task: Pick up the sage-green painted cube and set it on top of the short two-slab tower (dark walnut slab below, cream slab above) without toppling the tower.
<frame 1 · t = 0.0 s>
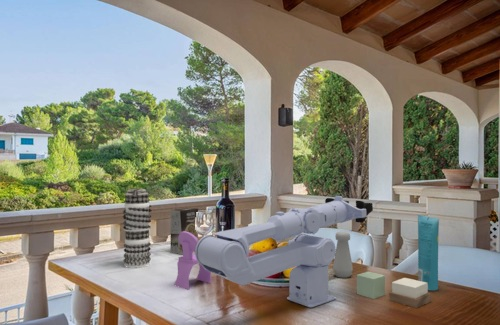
hand: (359, 205, 113), 22 cm above the table, tool horizontal, fingers open, 7 cm apart
decorative candle: (137, 265, 135), on the table
tube: (428, 288, 110), on the table
toy chair: (193, 284, 114), on the table
walnut slab: (409, 303, 100), on the table, touching cream slab
salt shaker: (342, 276, 121), on the table
coffee box: (184, 252, 155), on the table
cream slab: (409, 292, 100), point 2 cm above the table, touching walnut slab
sage cube: (370, 294, 105), on the table
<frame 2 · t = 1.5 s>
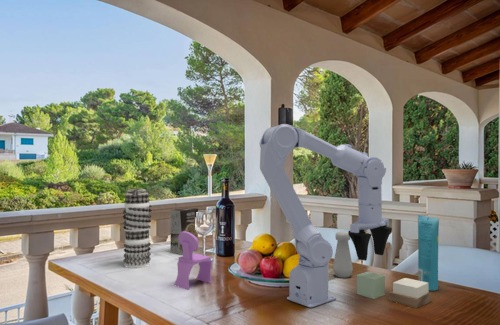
hand: (370, 257, 105), 9 cm above the table, tool pointing down, fingers open, 7 cm apart
nothing on the table moved.
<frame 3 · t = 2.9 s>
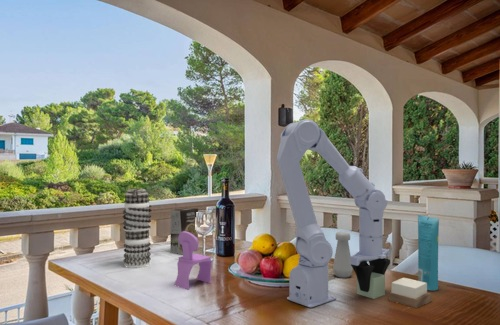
hand: (370, 288, 105), 1 cm above the table, tool pointing down, fingers closed on sage cube, 5 cm apart
sage cube: (370, 294, 105), on the table, touching gripper
everything else where it was.
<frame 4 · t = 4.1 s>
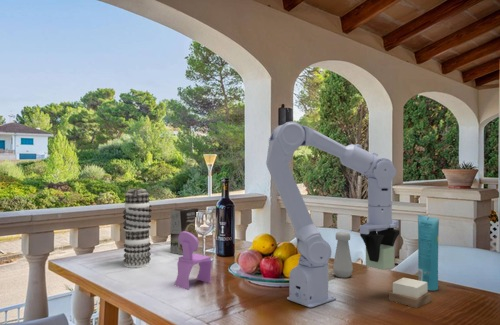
hand: (380, 259, 104), 9 cm above the table, tool pointing down, fingers closed on sage cube, 5 cm apart
sage cube: (380, 266, 104), point 7 cm above the table, touching gripper
everything else where it was.
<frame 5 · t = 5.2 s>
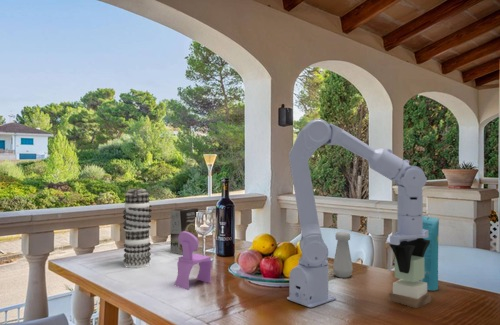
hand: (409, 270, 100), 7 cm above the table, tool pointing down, fingers closed on sage cube, 5 cm apart
sage cube: (409, 277, 100), point 6 cm above the table, touching gripper
everything else where it was.
when the fingers open (7 cm above the table, at t = 5.6 s): sage cube drops 1 cm, point 5 cm above the table.
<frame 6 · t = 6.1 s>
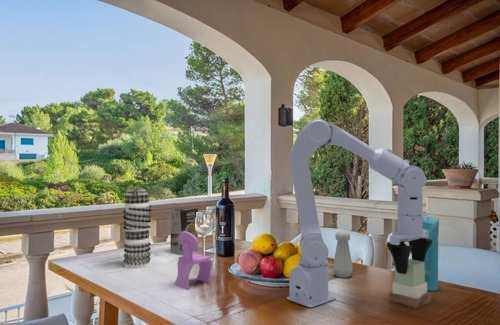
hand: (409, 270, 100), 7 cm above the table, tool pointing down, fingers open, 7 cm apart
sage cube: (409, 282, 100), point 5 cm above the table
everything else where it was.
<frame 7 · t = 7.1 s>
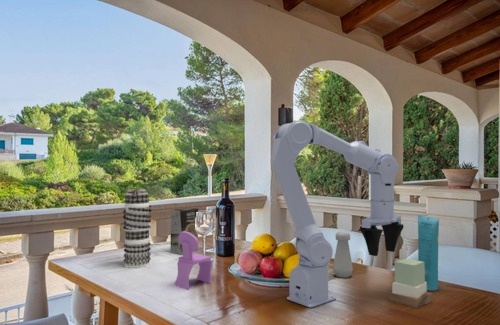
hand: (381, 253, 105), 10 cm above the table, tool pointing down, fingers open, 7 cm apart
cream slab: (409, 292, 100), point 2 cm above the table, touching sage cube, walnut slab
sage cube: (409, 282, 100), point 5 cm above the table, touching cream slab
everything else where it was.
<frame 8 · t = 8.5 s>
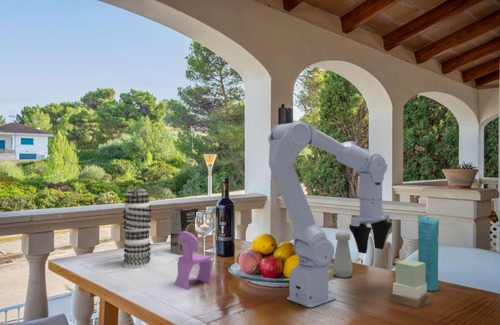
hand: (370, 250, 108), 10 cm above the table, tool pointing down, fingers open, 7 cm apart
nothing on the table moved.
at the end: sage cube 0.2 cm off-centre on the cream slab, point 2.5 cm above the cream slab's base; sage cube tilted 1°; cream slab moved 0.6 cm from its start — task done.
